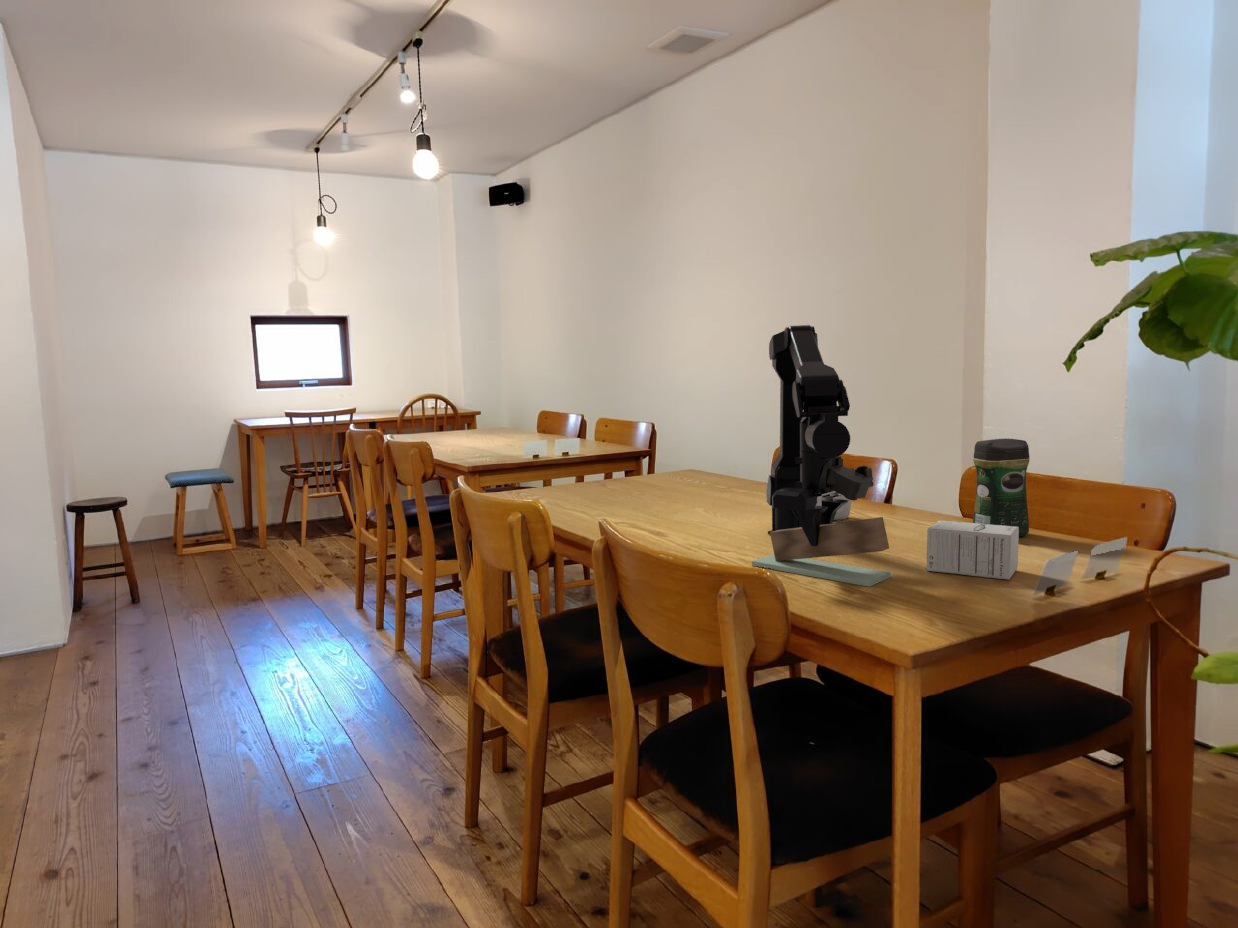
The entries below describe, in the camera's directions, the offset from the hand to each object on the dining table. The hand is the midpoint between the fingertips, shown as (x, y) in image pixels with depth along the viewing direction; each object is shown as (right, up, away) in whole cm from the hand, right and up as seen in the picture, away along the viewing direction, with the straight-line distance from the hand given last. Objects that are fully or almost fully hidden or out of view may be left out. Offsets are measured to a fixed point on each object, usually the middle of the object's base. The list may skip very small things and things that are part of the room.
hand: (818, 544), depth 139 cm
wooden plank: (+2, -2, -1) cm, 3 cm away
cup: (+14, +1, +43) cm, 45 cm away
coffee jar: (+40, -1, +22) cm, 46 cm away
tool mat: (0, -5, +1) cm, 5 cm away
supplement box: (+19, 0, 0) cm, 19 cm away
